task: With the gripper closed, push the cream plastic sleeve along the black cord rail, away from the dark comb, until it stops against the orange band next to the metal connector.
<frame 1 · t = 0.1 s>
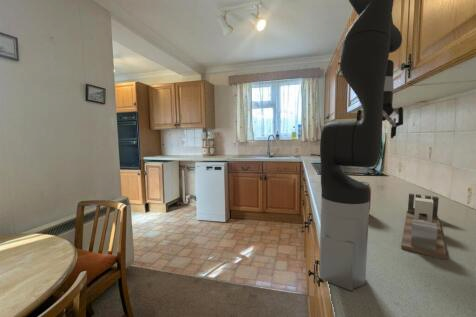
hand: (377, 138, 82), 29 cm above the table, tool pointing down, fingers open, 8 cm apart
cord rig: (422, 233, 70), on the table
soda can: (359, 213, 89), on the table
sleeve: (423, 210, 73), point 6 cm above the table, slide at 0.0 cm
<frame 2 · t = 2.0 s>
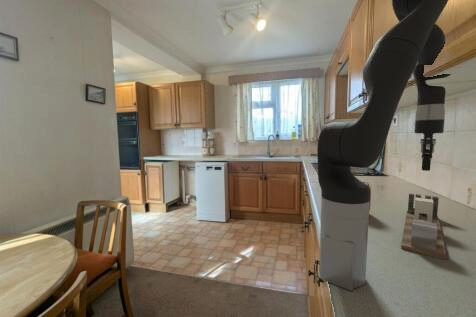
hand: (425, 170, 78), 18 cm above the table, tool pointing down, fingers closed
nothing on the table moved.
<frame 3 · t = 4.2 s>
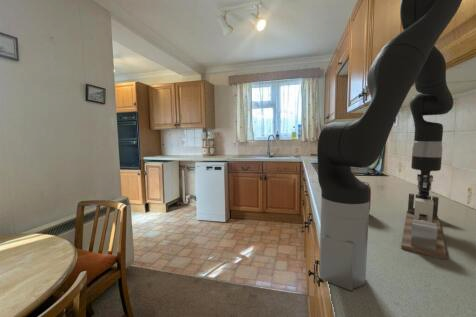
hand: (422, 206, 76), 6 cm above the table, tool pointing down, fingers closed
sleeve: (423, 210, 73), point 6 cm above the table, slide at 0.8 cm, touching gripper
everything else where it was.
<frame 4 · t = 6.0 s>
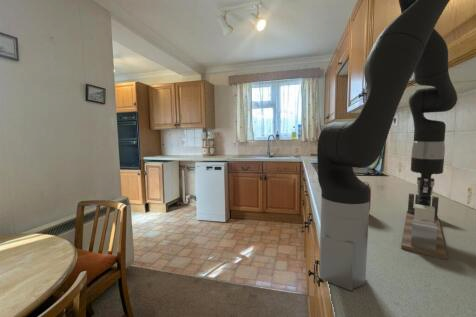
hand: (423, 212, 70), 7 cm above the table, tool pointing down, fingers closed
sleeve: (423, 218, 66), point 6 cm above the table, slide at 9.1 cm, touching gripper
everything else where it was.
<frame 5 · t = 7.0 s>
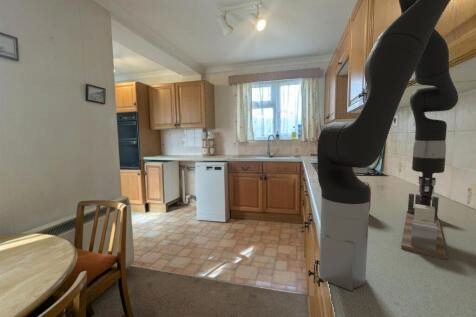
hand: (424, 211, 70), 7 cm above the table, tool pointing down, fingers closed
sleeve: (423, 218, 66), point 6 cm above the table, slide at 9.0 cm
everything else where it was.
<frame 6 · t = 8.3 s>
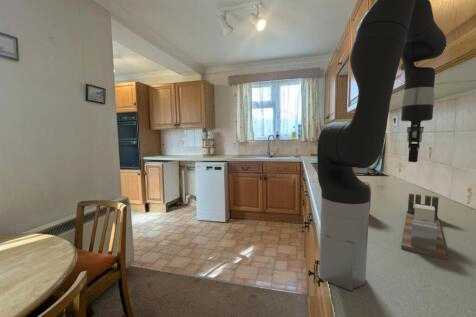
hand: (412, 161, 70), 22 cm above the table, tool pointing down, fingers closed
nothing on the table moved.
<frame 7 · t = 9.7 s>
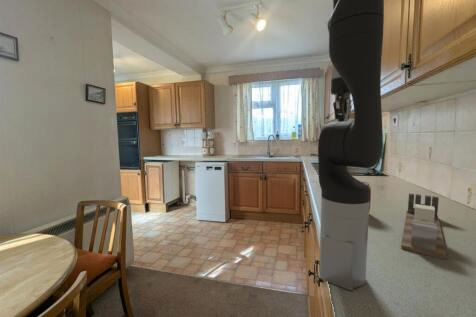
hand: (341, 133, 73), 31 cm above the table, tool pointing down, fingers closed
nothing on the table moved.
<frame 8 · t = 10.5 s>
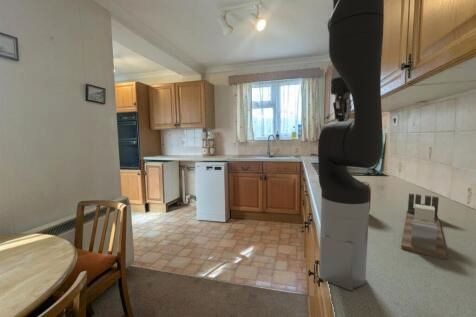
hand: (341, 133, 74), 31 cm above the table, tool pointing down, fingers closed
nothing on the table moved.
at the end: sleeve slide at 9.0 cm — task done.
